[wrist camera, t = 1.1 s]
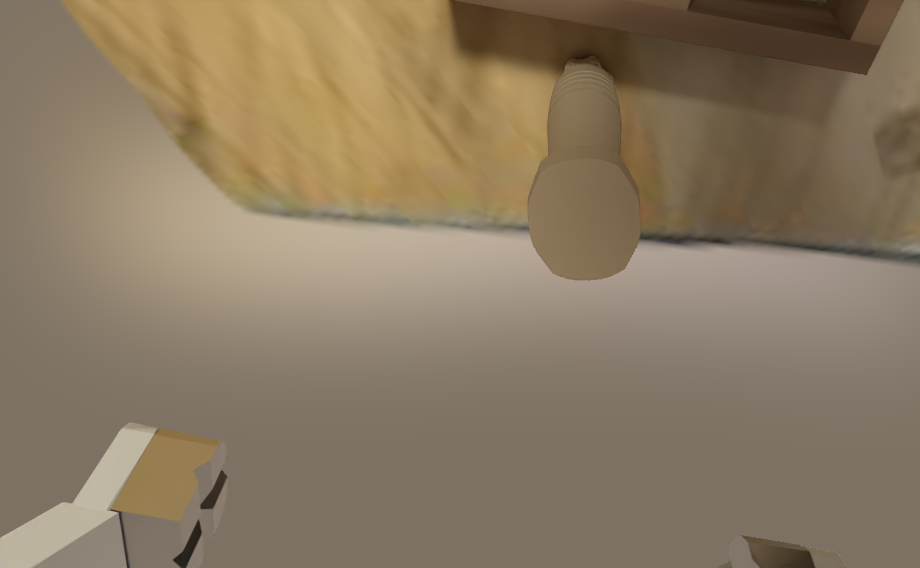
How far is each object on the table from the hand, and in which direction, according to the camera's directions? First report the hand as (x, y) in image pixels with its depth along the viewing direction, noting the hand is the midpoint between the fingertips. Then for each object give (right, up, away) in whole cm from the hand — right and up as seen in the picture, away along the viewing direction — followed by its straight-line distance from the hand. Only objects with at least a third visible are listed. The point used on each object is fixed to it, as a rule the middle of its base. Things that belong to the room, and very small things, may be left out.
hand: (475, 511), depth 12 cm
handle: (+7, +16, +33) cm, 37 cm away
